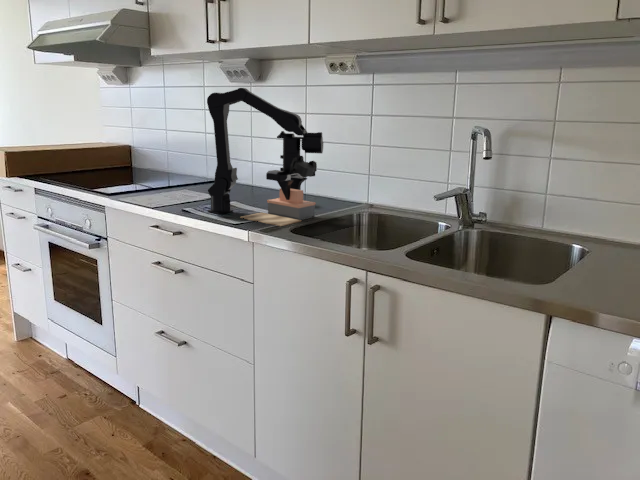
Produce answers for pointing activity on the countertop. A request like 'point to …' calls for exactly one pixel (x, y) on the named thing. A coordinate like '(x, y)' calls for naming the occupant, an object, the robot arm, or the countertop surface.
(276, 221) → the light wood flat board
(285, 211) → the storage box
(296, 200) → the lid
